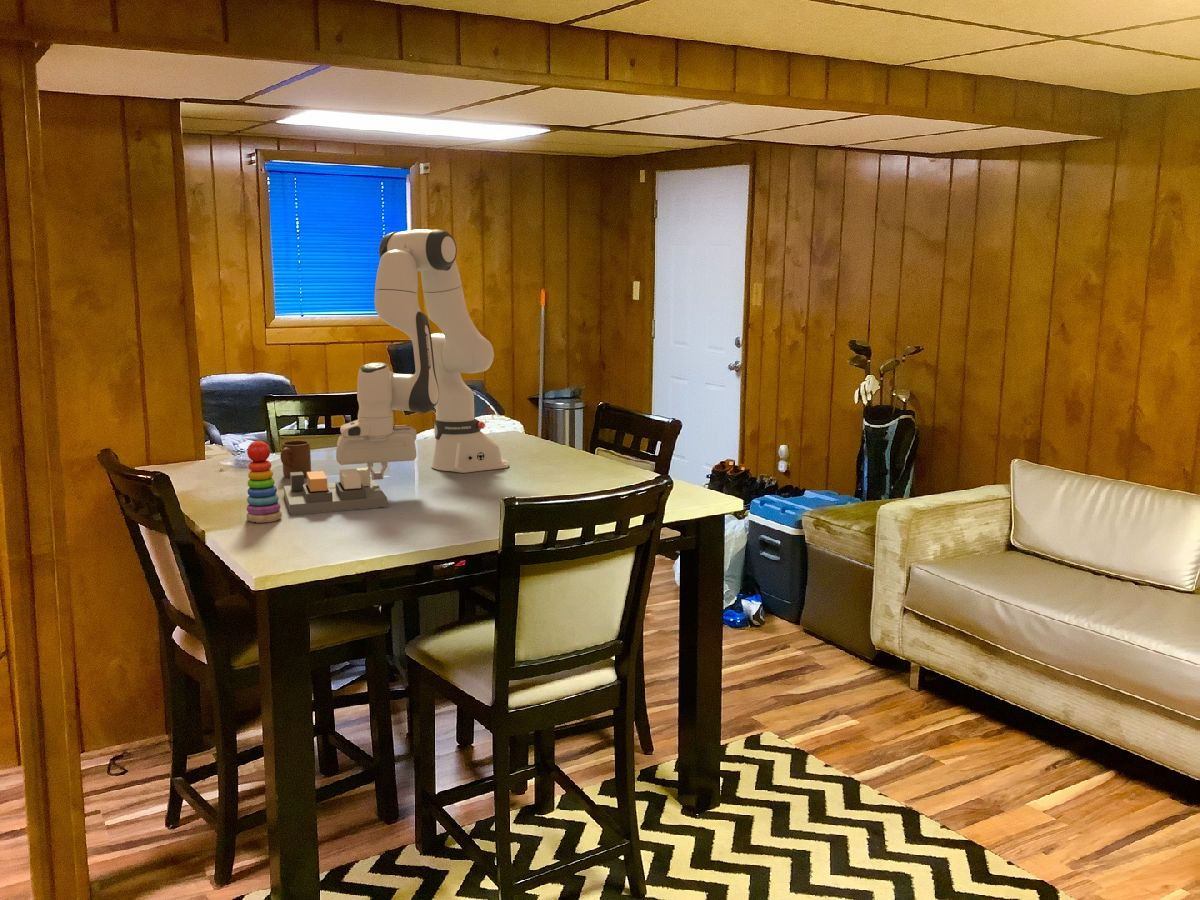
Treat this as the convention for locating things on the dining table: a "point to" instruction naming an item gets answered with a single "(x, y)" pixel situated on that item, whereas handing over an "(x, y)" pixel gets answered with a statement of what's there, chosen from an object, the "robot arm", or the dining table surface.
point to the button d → (350, 479)
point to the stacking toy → (261, 486)
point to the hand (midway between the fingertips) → (377, 479)
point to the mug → (296, 457)
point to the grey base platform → (334, 498)
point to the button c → (317, 481)
